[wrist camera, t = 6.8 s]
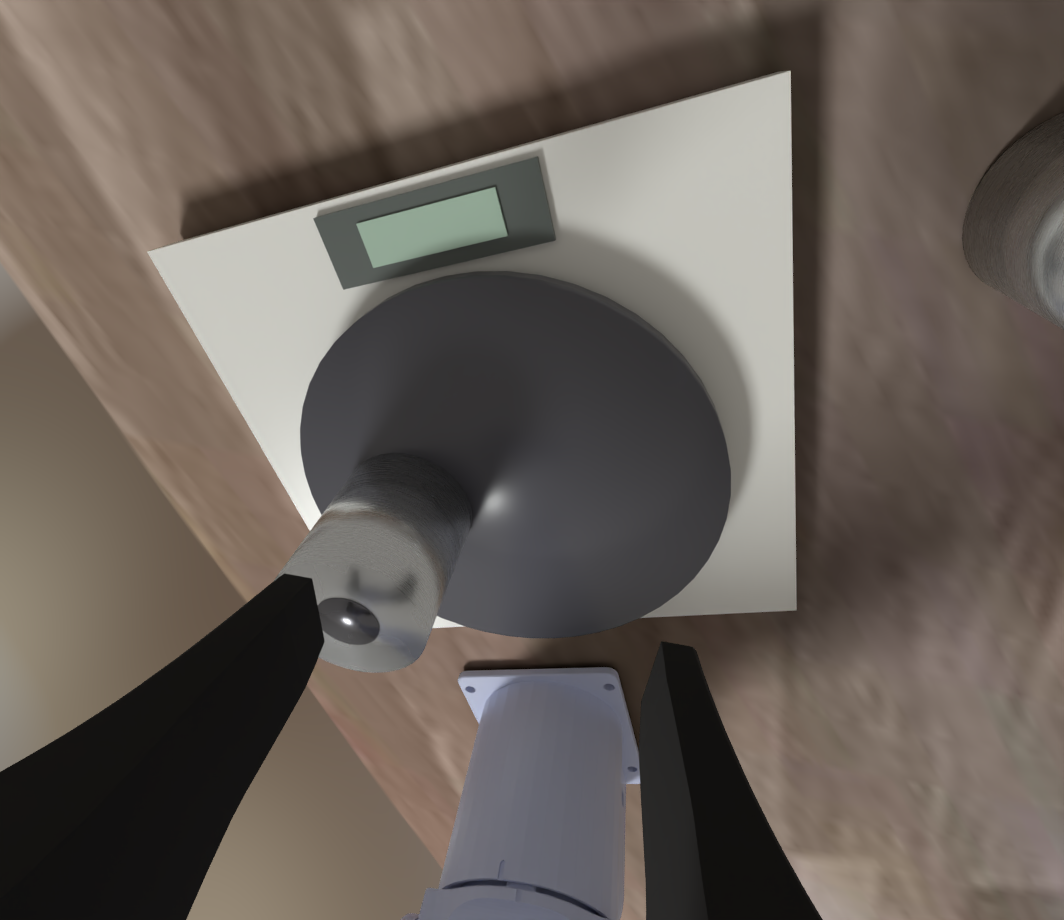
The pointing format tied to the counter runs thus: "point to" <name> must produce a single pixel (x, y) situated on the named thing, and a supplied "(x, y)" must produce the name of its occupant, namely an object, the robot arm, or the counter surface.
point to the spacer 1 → (384, 560)
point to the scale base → (561, 253)
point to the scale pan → (533, 445)
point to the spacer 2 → (1022, 223)
